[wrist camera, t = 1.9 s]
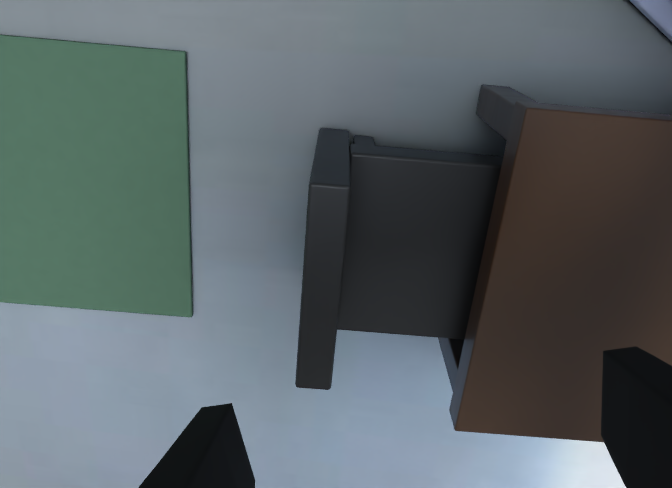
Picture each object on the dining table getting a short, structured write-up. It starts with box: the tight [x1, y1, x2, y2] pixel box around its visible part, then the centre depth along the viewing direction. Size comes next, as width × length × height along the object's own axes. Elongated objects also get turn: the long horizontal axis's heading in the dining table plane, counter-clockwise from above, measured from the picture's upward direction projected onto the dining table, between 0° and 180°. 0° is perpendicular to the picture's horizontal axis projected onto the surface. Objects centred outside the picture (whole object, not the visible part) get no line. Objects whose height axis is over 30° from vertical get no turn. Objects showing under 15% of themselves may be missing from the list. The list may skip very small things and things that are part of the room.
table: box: [438, 85, 672, 442], centre depth 18 cm, size 8×10×6 cm
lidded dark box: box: [295, 128, 503, 390], centre depth 17 cm, size 8×6×6 cm
